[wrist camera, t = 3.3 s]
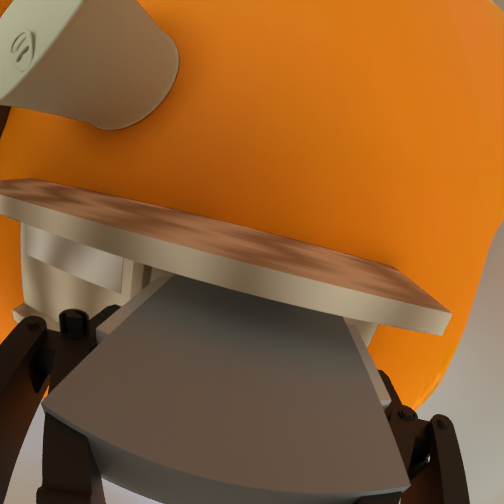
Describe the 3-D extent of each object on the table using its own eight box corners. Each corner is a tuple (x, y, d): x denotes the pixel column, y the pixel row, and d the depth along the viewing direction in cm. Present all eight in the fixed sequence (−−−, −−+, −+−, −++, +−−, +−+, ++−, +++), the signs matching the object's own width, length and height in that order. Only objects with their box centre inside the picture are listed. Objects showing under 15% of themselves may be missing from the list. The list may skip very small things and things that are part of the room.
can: (99, 153, 18) (-30, 145, 6) (71, 75, 16) (-26, 41, 5) (199, 84, 16) (112, -14, 5) (156, 12, 15) (84, -68, 3)
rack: (31, 309, 22) (-17, 339, 14) (31, 178, 19) (-33, 184, 11) (327, 409, 21) (338, 478, 14) (393, 267, 18) (452, 313, 10)
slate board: (182, 301, 19) (64, 456, 5) (189, 261, 18) (40, 402, 5) (319, 336, 19) (358, 523, 5) (334, 298, 18) (410, 485, 4)
